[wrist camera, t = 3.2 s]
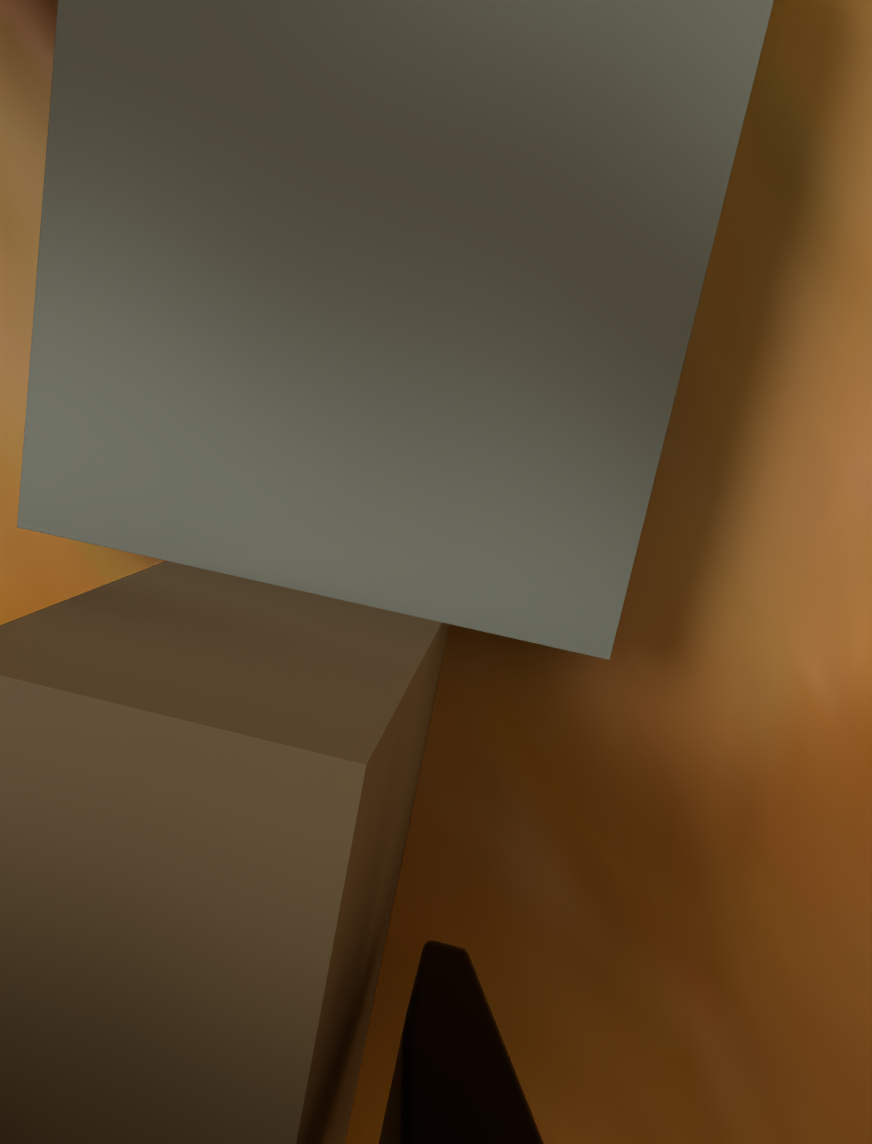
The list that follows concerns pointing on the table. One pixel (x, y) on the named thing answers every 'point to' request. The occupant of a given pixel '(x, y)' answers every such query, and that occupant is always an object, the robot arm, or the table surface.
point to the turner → (315, 492)
